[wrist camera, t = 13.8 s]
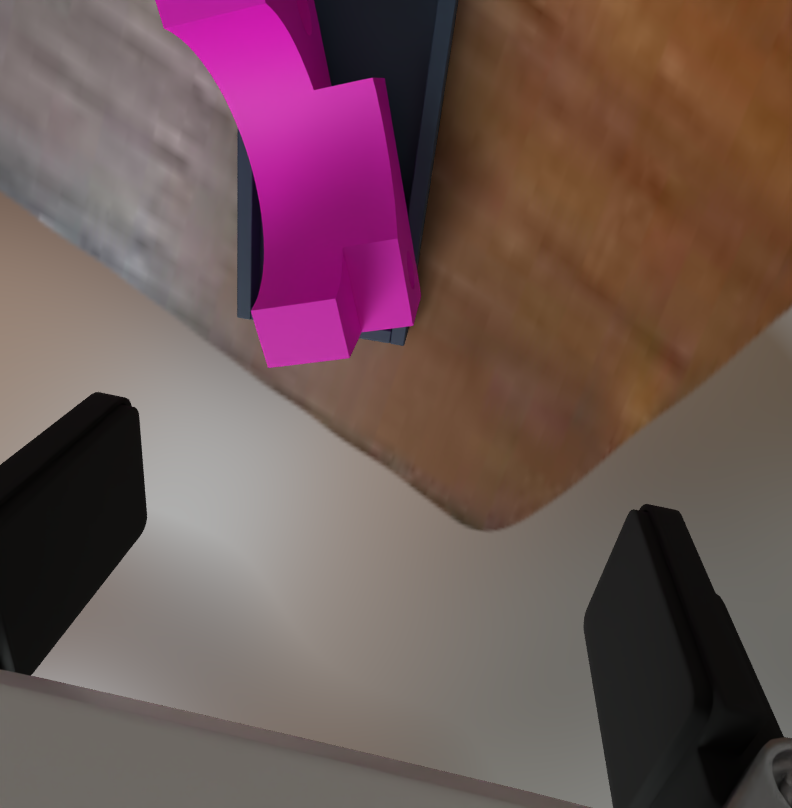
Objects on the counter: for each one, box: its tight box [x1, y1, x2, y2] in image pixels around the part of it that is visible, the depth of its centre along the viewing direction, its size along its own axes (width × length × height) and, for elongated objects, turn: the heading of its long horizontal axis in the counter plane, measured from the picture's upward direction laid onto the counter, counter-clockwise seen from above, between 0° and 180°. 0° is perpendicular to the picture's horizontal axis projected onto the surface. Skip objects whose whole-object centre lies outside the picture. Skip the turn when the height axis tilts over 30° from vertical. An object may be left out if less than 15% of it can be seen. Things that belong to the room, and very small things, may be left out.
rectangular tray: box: [237, 0, 458, 346], centre depth 30 cm, size 10×19×2 cm, turn 173°
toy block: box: [155, 0, 421, 368], centre depth 26 cm, size 15×6×8 cm, turn 11°
